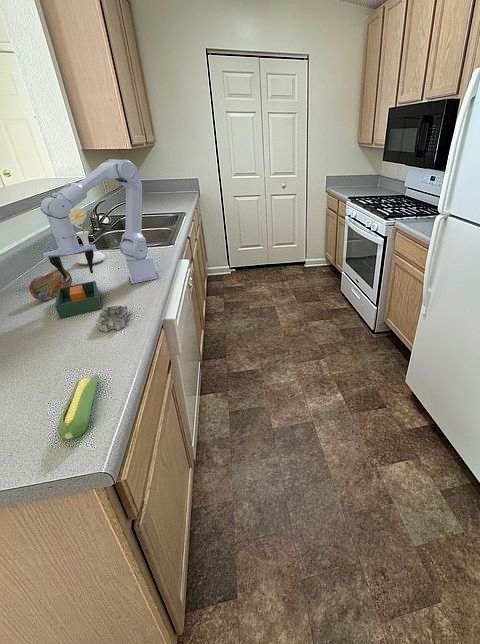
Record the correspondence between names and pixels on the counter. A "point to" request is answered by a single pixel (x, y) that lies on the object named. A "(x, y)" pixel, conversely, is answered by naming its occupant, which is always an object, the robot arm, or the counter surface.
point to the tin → (49, 284)
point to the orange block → (77, 293)
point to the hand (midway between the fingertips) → (79, 275)
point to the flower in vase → (83, 234)
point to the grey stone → (112, 318)
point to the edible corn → (78, 409)
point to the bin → (80, 306)
